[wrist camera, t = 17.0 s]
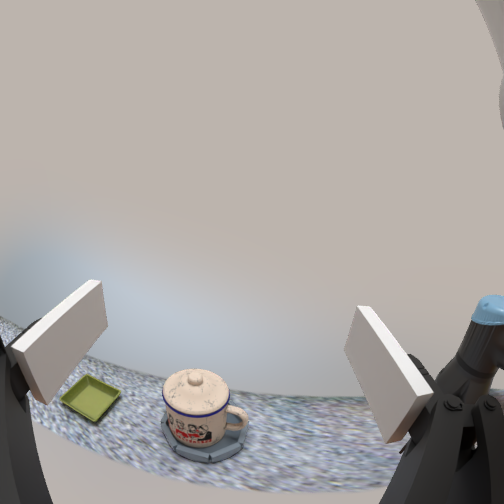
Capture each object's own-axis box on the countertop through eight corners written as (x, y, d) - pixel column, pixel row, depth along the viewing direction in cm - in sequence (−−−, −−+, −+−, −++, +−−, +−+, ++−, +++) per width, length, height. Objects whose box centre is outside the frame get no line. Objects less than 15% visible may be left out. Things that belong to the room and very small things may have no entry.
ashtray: (252, 411, 40) (253, 403, 40) (236, 471, 28) (237, 464, 28) (181, 395, 42) (180, 386, 41) (152, 447, 30) (149, 439, 29)
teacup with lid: (158, 437, 31) (146, 385, 28) (182, 400, 40) (178, 347, 37) (236, 462, 29) (243, 416, 26) (251, 419, 38) (260, 368, 34)
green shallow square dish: (61, 406, 32) (57, 398, 31) (88, 380, 40) (86, 372, 40) (98, 429, 30) (94, 421, 30) (124, 398, 39) (122, 390, 38)
